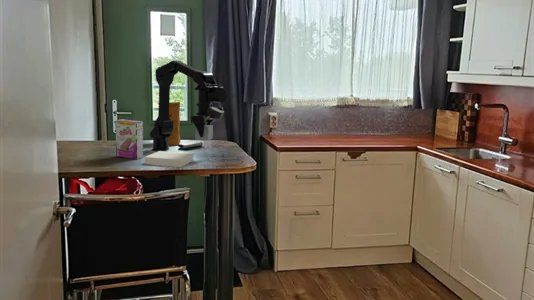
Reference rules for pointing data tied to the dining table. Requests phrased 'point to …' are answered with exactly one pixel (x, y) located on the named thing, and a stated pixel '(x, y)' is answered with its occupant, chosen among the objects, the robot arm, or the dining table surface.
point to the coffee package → (174, 123)
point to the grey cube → (205, 133)
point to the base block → (169, 158)
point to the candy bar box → (129, 139)
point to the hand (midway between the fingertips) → (204, 136)
